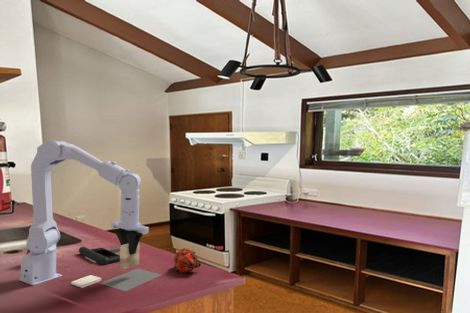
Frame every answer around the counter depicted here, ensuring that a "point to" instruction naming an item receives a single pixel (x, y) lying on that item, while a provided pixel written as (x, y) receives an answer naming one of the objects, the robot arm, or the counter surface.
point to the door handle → (101, 255)
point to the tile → (86, 281)
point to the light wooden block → (128, 256)
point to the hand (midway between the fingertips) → (129, 253)
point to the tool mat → (130, 279)
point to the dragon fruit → (186, 261)
